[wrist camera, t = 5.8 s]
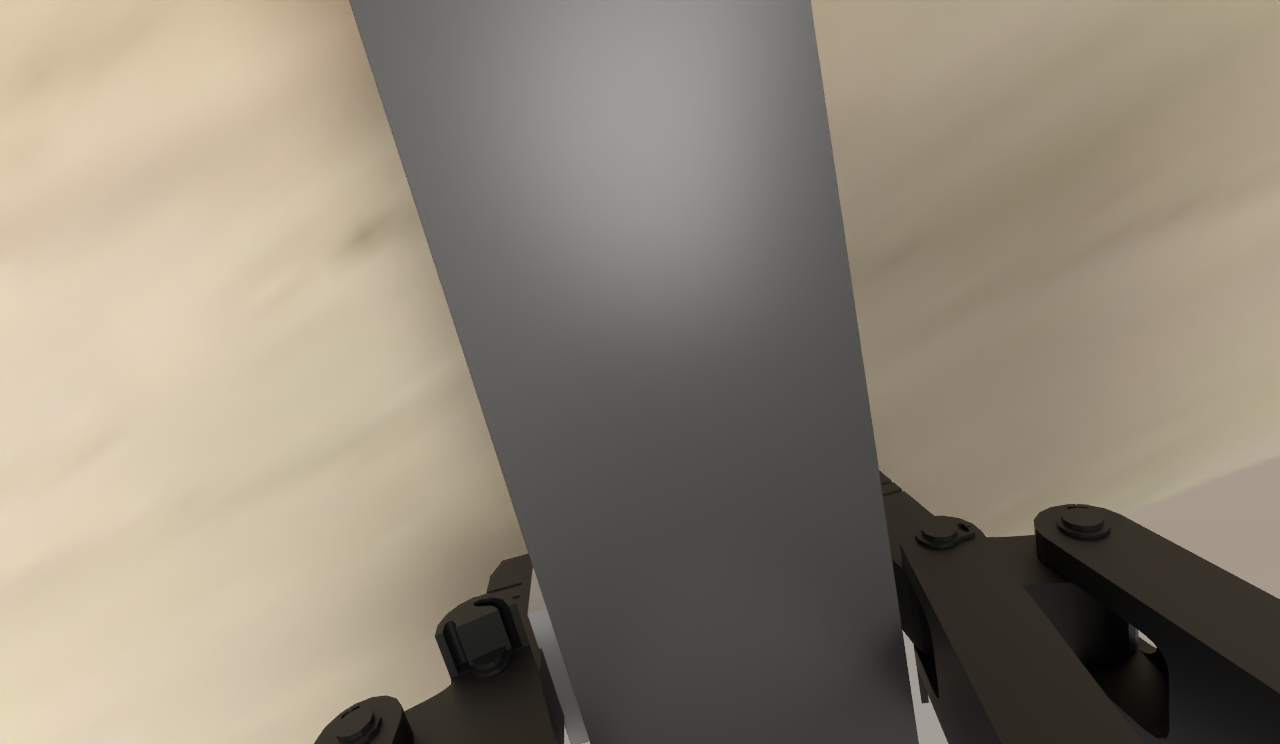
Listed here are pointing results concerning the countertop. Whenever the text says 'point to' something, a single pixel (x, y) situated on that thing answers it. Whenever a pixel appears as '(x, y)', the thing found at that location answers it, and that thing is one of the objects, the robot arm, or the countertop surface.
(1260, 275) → the countertop surface
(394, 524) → the countertop surface
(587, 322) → the plug
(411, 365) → the countertop surface
